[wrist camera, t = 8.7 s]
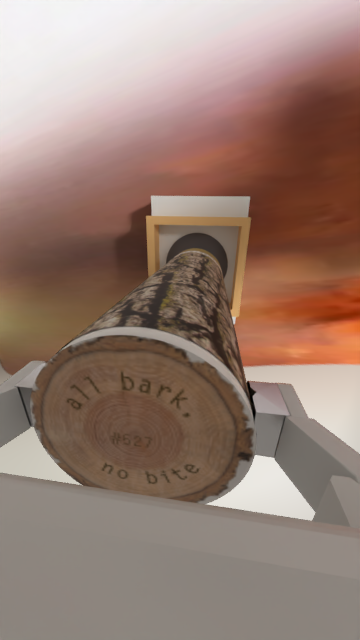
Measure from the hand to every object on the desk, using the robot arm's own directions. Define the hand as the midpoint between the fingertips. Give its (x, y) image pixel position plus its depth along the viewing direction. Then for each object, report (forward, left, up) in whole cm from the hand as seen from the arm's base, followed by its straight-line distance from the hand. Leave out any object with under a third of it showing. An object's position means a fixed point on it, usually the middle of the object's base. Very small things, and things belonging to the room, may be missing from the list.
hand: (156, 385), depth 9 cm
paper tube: (0, +1, -23) cm, 23 cm away
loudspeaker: (0, 0, -32) cm, 32 cm away
